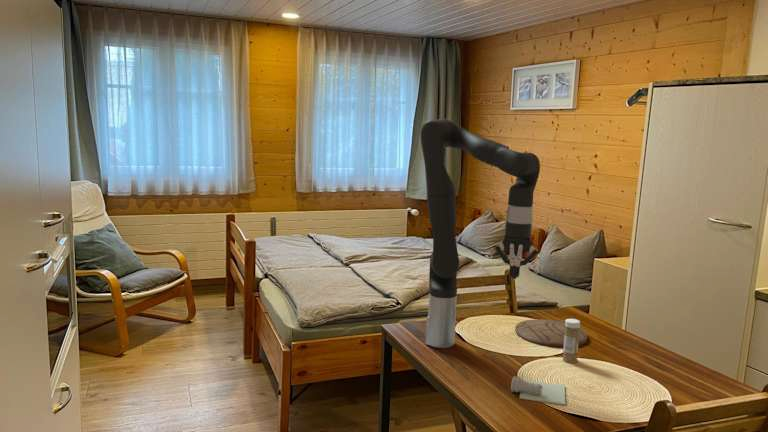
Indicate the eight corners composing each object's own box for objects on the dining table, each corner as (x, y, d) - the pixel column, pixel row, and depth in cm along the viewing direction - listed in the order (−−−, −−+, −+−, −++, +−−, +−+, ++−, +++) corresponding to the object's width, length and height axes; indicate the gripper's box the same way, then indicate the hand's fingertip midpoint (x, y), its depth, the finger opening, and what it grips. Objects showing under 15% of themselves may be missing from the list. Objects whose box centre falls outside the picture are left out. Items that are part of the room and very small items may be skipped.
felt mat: (519, 398, 160) (519, 396, 160) (521, 380, 171) (521, 379, 171) (565, 405, 157) (565, 403, 157) (564, 386, 168) (564, 385, 168)
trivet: (535, 350, 196) (536, 345, 196) (503, 325, 220) (503, 320, 220) (601, 346, 202) (601, 341, 202) (563, 322, 226) (563, 318, 226)
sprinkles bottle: (579, 361, 187) (583, 321, 185) (570, 364, 184) (574, 323, 182) (568, 356, 191) (571, 317, 189) (559, 359, 188) (562, 319, 186)
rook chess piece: (511, 377, 162) (541, 383, 159) (515, 374, 166) (543, 380, 163) (509, 393, 162) (539, 400, 158) (513, 389, 166) (541, 396, 162)
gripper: (494, 220, 170) (490, 278, 172) (541, 224, 166) (536, 283, 169) (497, 217, 177) (493, 272, 180) (542, 221, 173) (537, 277, 176)
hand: (514, 277), depth 174 cm, fingers closed
